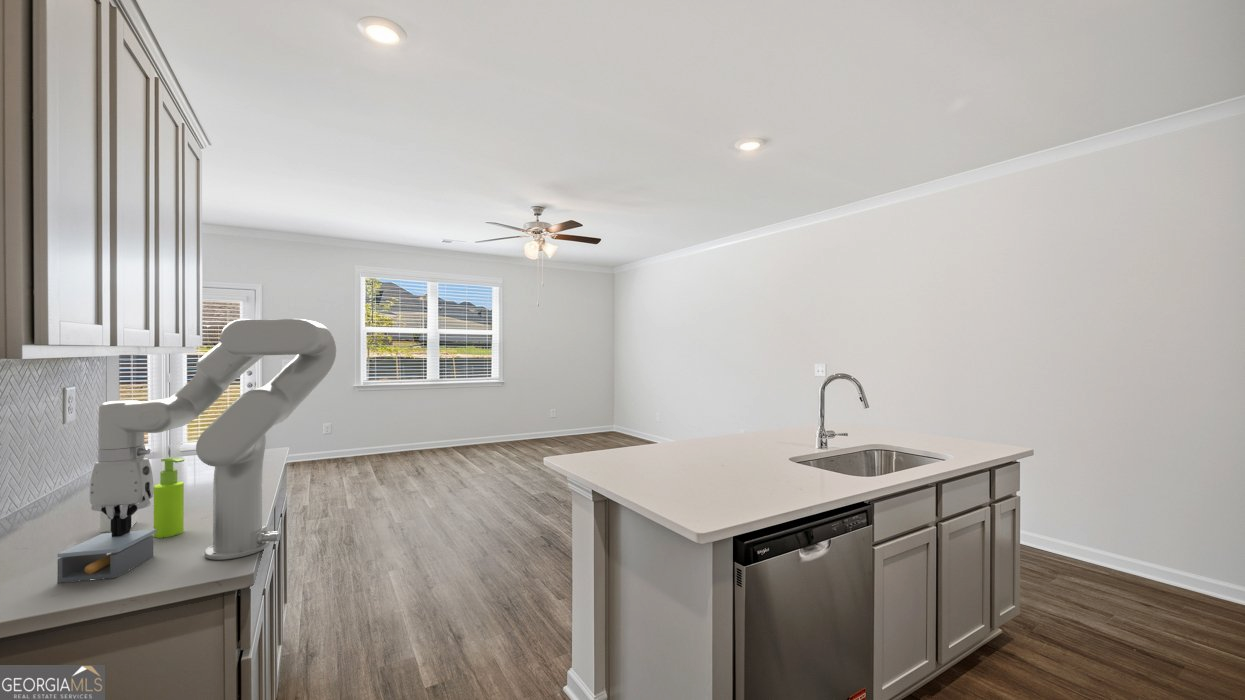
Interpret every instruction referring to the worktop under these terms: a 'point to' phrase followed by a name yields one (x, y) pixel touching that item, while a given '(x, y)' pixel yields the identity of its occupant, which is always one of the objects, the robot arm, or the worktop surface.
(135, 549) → the cable duct
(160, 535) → the soap dispenser
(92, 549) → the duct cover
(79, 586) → the worktop surface
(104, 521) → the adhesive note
